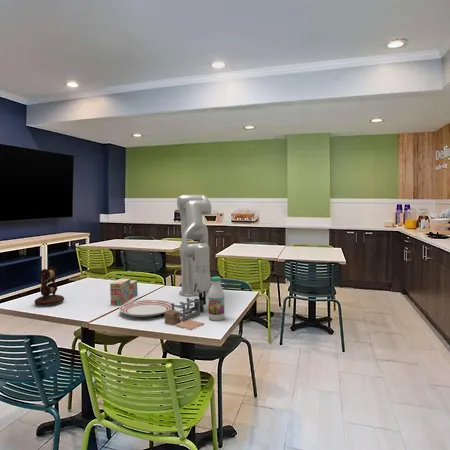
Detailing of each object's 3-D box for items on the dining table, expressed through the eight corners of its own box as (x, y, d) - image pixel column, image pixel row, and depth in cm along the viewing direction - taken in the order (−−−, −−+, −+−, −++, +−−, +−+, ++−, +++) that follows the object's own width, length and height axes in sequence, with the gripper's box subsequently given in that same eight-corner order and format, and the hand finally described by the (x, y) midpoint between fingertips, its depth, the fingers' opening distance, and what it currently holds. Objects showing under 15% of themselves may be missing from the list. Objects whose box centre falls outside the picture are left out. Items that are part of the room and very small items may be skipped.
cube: (172, 320, 170) (172, 309, 170) (180, 322, 167) (180, 311, 167) (164, 323, 166) (164, 312, 166) (172, 325, 163) (172, 314, 163)
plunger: (195, 310, 185) (195, 298, 184) (203, 311, 182) (203, 300, 181) (172, 319, 170) (172, 307, 170) (180, 321, 167) (180, 308, 167)
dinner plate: (140, 302, 201) (140, 296, 201) (183, 307, 191) (183, 301, 191) (107, 317, 175) (107, 310, 175) (155, 324, 165) (155, 317, 165)
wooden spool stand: (44, 299, 206) (42, 265, 205) (69, 300, 206) (67, 265, 204) (28, 307, 192) (27, 270, 190) (55, 307, 191) (54, 270, 189)
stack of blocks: (128, 295, 216) (127, 274, 215) (137, 295, 215) (137, 275, 214) (110, 305, 195) (109, 283, 194) (121, 305, 194) (120, 283, 193)
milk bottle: (208, 315, 176) (207, 275, 175) (223, 315, 177) (223, 275, 175) (208, 321, 168) (208, 279, 167) (225, 320, 169) (224, 278, 168)
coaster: (188, 320, 169) (188, 319, 169) (203, 324, 164) (203, 323, 164) (175, 326, 162) (175, 324, 162) (190, 330, 157) (190, 328, 157)
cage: (188, 312, 182) (188, 297, 181) (200, 315, 177) (200, 300, 177) (171, 318, 172) (171, 303, 171) (184, 321, 167) (183, 306, 167)
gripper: (205, 266, 192) (205, 299, 193) (187, 270, 179) (187, 306, 181) (216, 267, 188) (216, 302, 189) (198, 272, 175) (199, 309, 176)
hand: (202, 304), depth 185 cm, fingers closed
